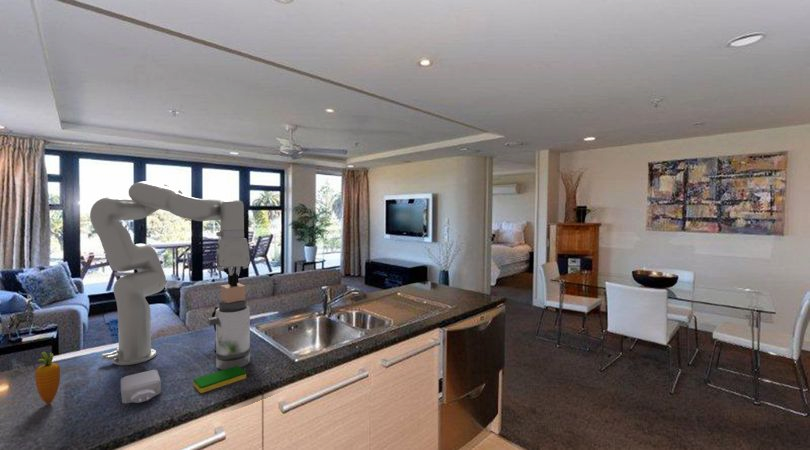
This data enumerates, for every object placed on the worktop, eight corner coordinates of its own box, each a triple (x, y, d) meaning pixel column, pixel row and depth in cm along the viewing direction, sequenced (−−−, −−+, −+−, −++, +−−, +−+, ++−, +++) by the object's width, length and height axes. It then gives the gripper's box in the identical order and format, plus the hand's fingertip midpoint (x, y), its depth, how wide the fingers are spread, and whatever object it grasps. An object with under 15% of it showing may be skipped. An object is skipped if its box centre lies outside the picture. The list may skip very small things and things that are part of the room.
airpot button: (227, 303, 122) (227, 288, 122) (220, 299, 127) (220, 285, 126) (245, 300, 127) (245, 285, 127) (238, 296, 131) (238, 283, 131)
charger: (123, 414, 96) (120, 392, 107) (164, 403, 102) (157, 383, 113) (122, 398, 96) (120, 377, 107) (163, 387, 102) (157, 368, 113)
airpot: (215, 375, 118) (214, 296, 117) (204, 364, 126) (203, 290, 125) (255, 363, 128) (255, 289, 127) (242, 353, 136) (242, 284, 134)
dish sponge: (246, 379, 117) (246, 372, 117) (200, 394, 107) (200, 387, 107) (237, 372, 122) (237, 365, 122) (193, 386, 112) (193, 378, 112)
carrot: (62, 403, 100) (60, 352, 99) (36, 411, 96) (34, 357, 96) (60, 397, 103) (58, 347, 103) (35, 404, 100) (34, 352, 99)
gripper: (213, 236, 118) (214, 290, 118) (257, 234, 128) (258, 284, 129) (206, 235, 123) (207, 287, 124) (249, 233, 134) (249, 281, 134)
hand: (233, 285), depth 126 cm, fingers closed
